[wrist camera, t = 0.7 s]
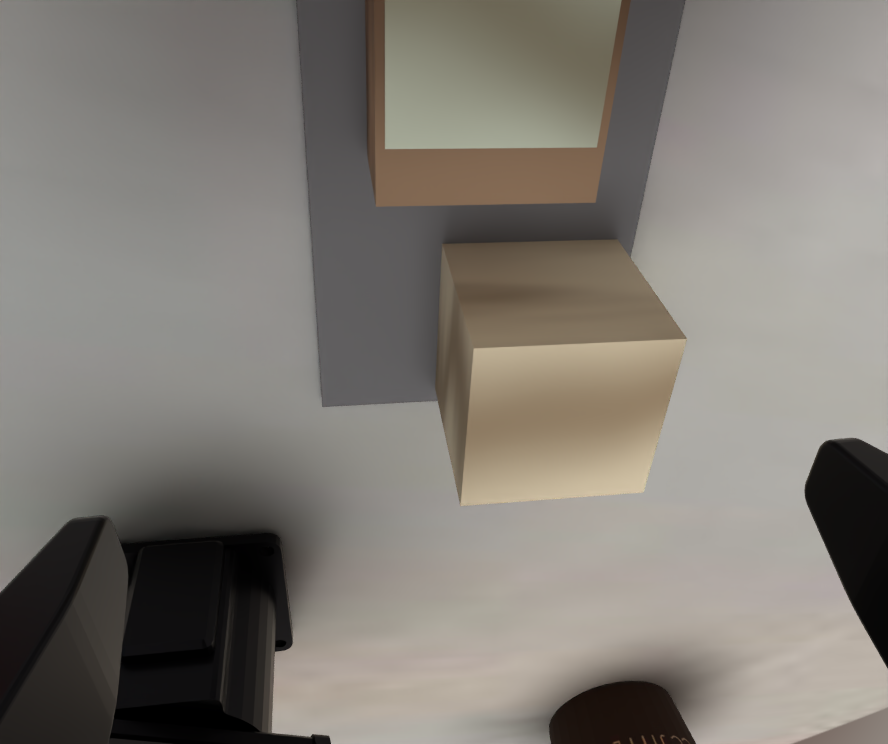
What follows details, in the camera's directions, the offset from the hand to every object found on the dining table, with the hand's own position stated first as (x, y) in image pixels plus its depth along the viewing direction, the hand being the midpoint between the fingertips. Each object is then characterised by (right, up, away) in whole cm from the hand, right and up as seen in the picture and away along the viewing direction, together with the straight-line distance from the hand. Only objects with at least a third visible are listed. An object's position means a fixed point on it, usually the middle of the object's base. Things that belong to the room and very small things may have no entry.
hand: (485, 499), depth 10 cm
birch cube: (+2, +3, +13) cm, 14 cm away
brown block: (0, +10, +7) cm, 13 cm away
